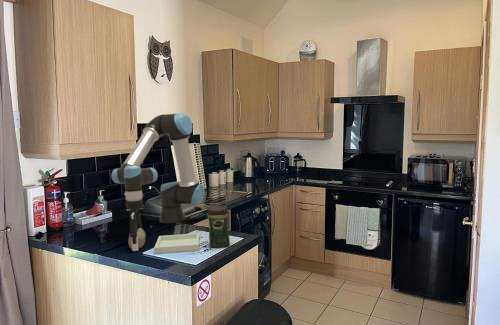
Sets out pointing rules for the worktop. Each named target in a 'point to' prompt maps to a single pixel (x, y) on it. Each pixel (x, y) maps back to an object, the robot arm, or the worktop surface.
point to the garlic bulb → (141, 238)
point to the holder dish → (177, 243)
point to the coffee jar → (218, 226)
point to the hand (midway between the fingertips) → (137, 247)
